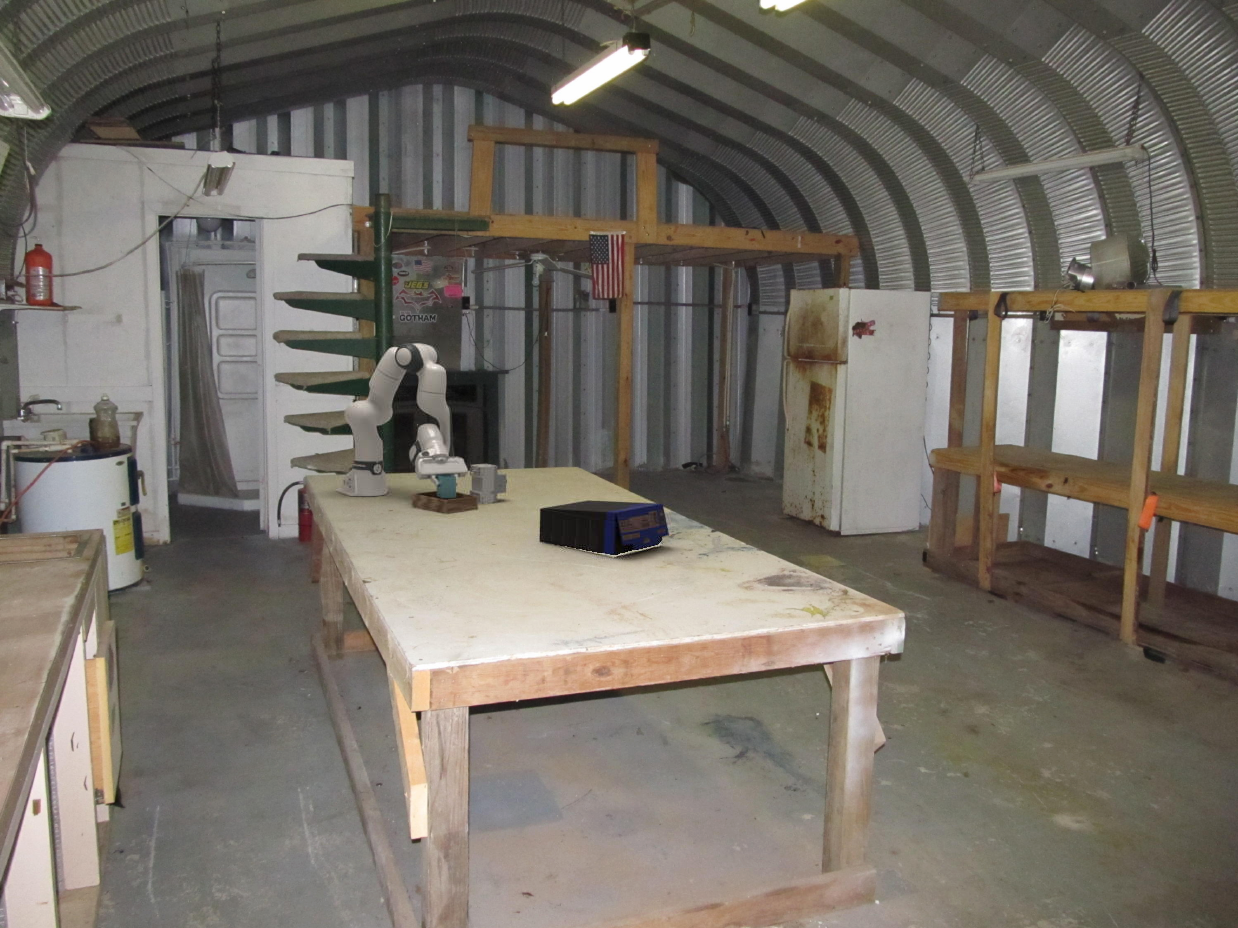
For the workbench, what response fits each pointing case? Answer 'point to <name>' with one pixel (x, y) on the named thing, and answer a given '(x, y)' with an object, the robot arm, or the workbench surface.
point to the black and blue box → (604, 526)
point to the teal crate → (446, 486)
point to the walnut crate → (444, 502)
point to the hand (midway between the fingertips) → (446, 485)
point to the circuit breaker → (487, 482)
